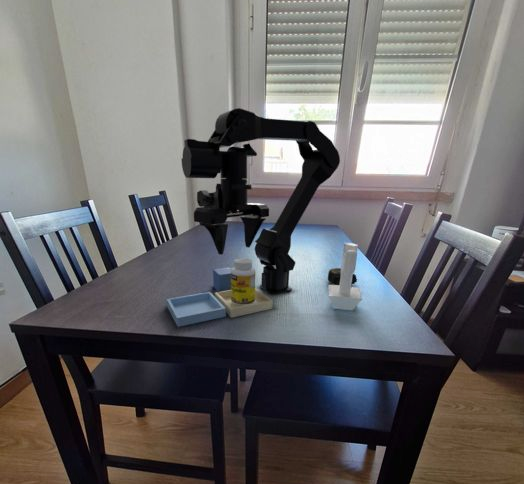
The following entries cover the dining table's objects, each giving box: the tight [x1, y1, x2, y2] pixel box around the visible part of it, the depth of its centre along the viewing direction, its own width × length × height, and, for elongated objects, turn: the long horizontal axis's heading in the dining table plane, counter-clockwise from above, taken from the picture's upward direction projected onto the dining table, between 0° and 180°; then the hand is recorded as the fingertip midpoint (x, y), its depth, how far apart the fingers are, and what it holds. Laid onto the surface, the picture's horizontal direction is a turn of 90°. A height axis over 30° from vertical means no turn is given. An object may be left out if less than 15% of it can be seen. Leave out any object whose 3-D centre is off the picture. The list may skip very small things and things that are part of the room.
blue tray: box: [166, 291, 227, 328], centre depth 62 cm, size 10×10×2 cm
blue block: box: [212, 266, 233, 292], centre depth 74 cm, size 5×5×5 cm
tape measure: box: [327, 267, 358, 286], centre depth 80 cm, size 7×7×4 cm
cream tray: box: [214, 287, 274, 319], centre depth 66 cm, size 10×10×2 cm
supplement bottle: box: [231, 257, 256, 306], centre depth 64 cm, size 6×6×10 cm
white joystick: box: [328, 242, 363, 311], centre depth 64 cm, size 7×9×15 cm
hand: (234, 250), depth 65 cm, fingers open, 9 cm apart
